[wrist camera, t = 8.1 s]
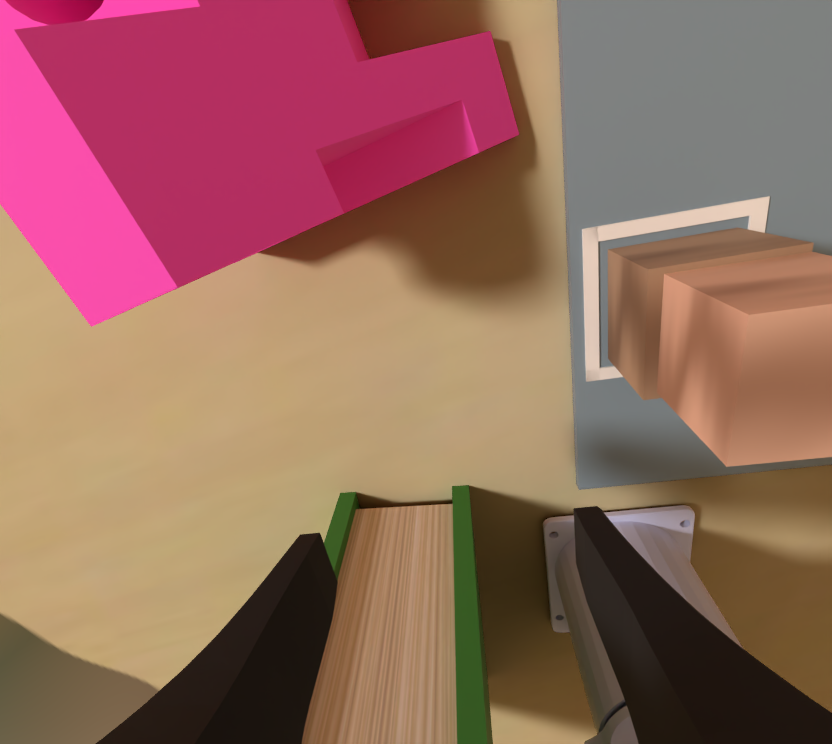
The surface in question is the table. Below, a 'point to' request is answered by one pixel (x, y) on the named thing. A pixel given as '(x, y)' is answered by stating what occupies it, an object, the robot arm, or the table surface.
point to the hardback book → (402, 629)
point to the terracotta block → (751, 357)
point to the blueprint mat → (681, 180)
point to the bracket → (215, 131)
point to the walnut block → (643, 290)
